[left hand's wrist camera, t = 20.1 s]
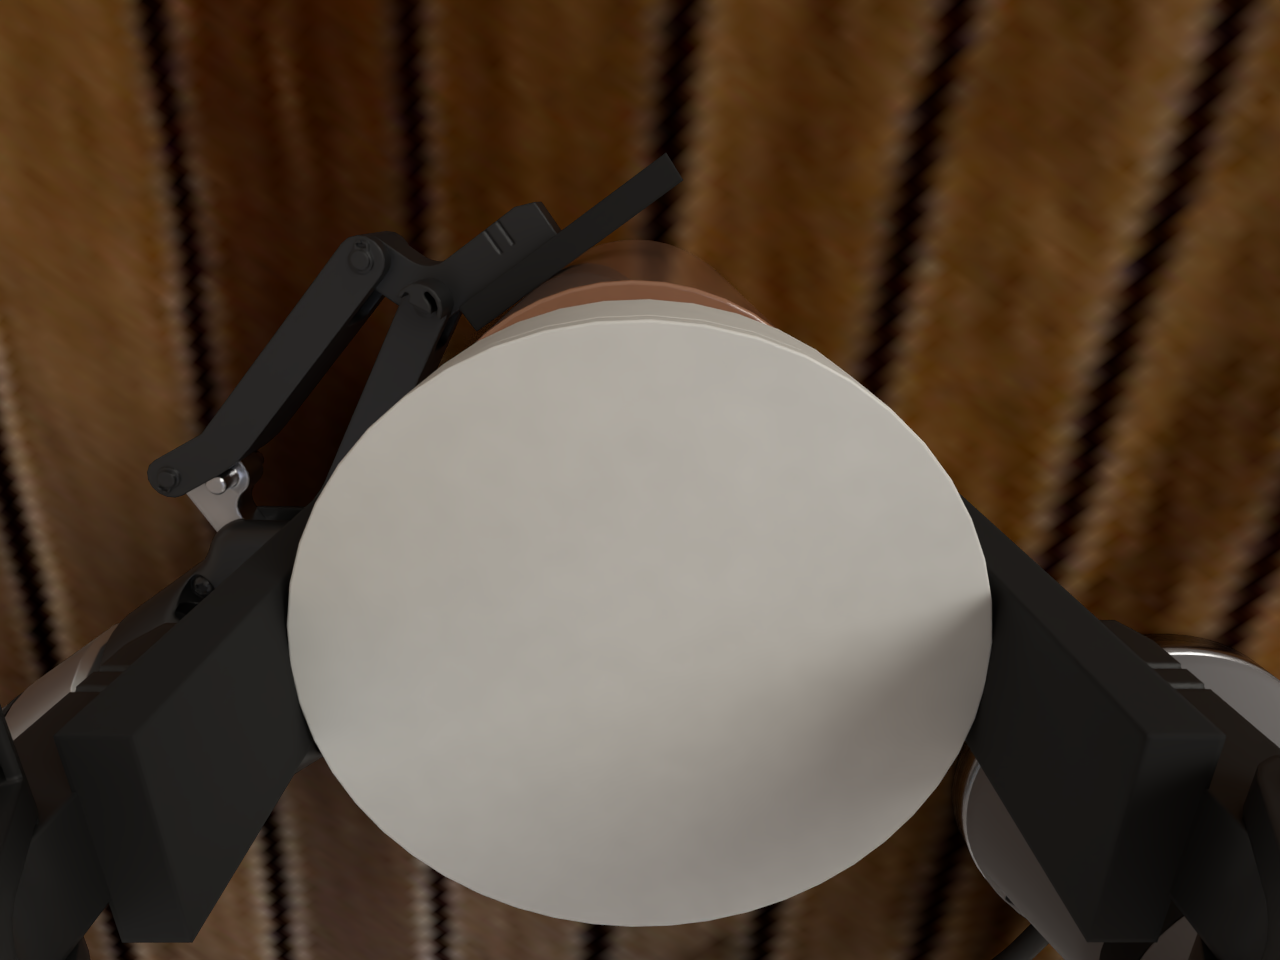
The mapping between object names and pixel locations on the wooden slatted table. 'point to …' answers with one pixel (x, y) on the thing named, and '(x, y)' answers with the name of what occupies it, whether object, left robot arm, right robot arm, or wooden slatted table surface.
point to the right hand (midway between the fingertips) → (767, 322)
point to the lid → (639, 617)
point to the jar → (631, 282)
